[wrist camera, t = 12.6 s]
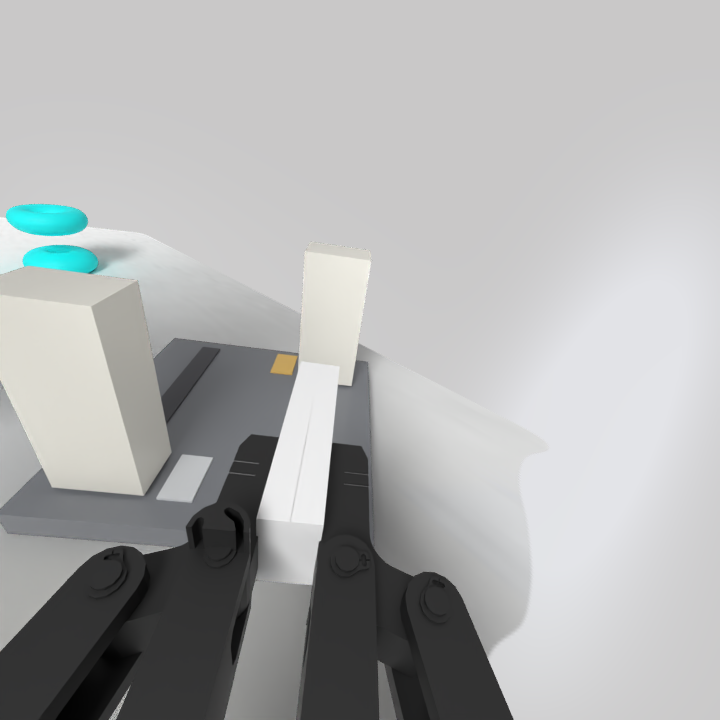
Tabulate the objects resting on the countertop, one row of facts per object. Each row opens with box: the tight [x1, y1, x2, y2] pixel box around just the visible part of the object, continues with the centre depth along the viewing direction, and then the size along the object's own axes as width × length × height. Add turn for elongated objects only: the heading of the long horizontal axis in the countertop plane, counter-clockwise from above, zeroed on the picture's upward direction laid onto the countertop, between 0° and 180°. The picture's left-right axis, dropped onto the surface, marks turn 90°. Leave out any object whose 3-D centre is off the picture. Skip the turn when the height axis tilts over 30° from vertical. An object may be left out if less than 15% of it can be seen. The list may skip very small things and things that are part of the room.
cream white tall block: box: [298, 242, 371, 386], centre depth 36 cm, size 4×6×14 cm, turn 90°
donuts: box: [6, 204, 98, 273], centre depth 57 cm, size 10×10×10 cm
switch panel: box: [0, 338, 374, 548], centre depth 33 cm, size 24×24×2 cm
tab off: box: [0, 266, 172, 496], centre depth 21 cm, size 4×6×14 cm, turn 90°
